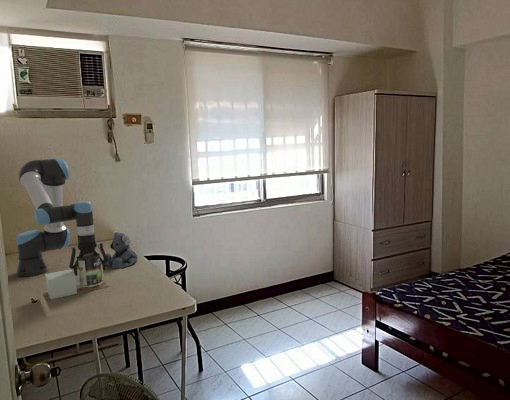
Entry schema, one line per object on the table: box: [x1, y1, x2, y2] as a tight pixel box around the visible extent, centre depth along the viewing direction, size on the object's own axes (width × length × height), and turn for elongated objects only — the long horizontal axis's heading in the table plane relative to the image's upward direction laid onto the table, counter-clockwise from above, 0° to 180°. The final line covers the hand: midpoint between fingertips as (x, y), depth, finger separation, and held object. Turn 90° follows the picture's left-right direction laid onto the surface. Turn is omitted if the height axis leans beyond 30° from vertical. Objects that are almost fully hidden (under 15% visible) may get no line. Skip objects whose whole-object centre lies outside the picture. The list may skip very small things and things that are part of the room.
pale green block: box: [44, 268, 78, 300], centre depth 188 cm, size 11×11×9 cm
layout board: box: [43, 279, 110, 302], centre depth 193 cm, size 13×27×2 cm, turn 124°
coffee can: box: [76, 252, 103, 287], centre depth 195 cm, size 10×10×14 cm
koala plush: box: [102, 230, 139, 270], centre depth 237 cm, size 17×18×20 cm
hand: (90, 279), depth 196 cm, fingers closed on coffee can, 10 cm apart
